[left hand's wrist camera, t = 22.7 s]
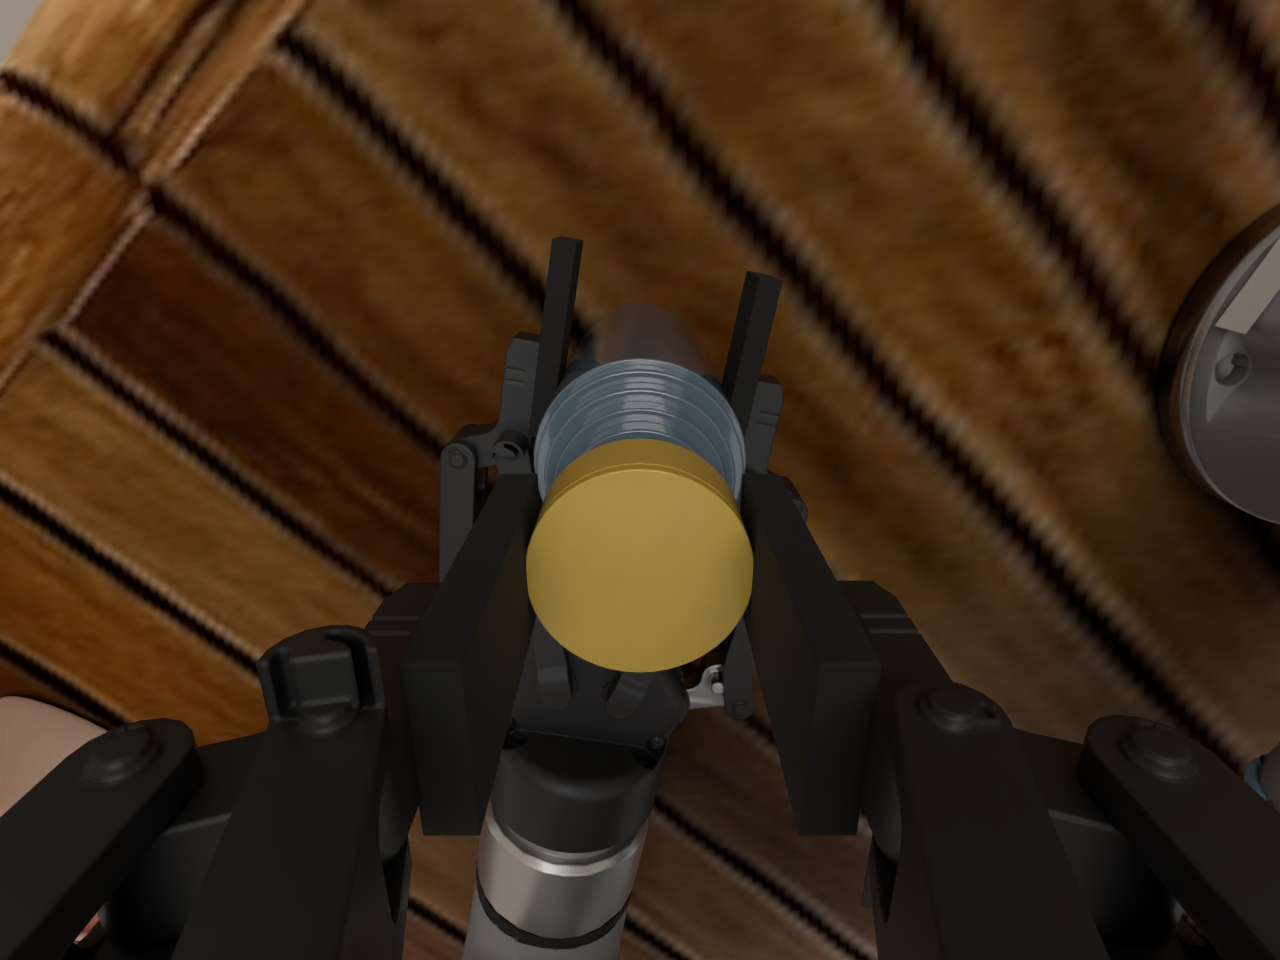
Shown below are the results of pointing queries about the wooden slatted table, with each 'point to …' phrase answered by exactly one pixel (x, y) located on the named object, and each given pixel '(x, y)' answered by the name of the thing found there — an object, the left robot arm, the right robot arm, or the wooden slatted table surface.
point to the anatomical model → (37, 748)
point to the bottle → (639, 395)
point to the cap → (639, 557)
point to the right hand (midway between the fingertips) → (666, 259)
